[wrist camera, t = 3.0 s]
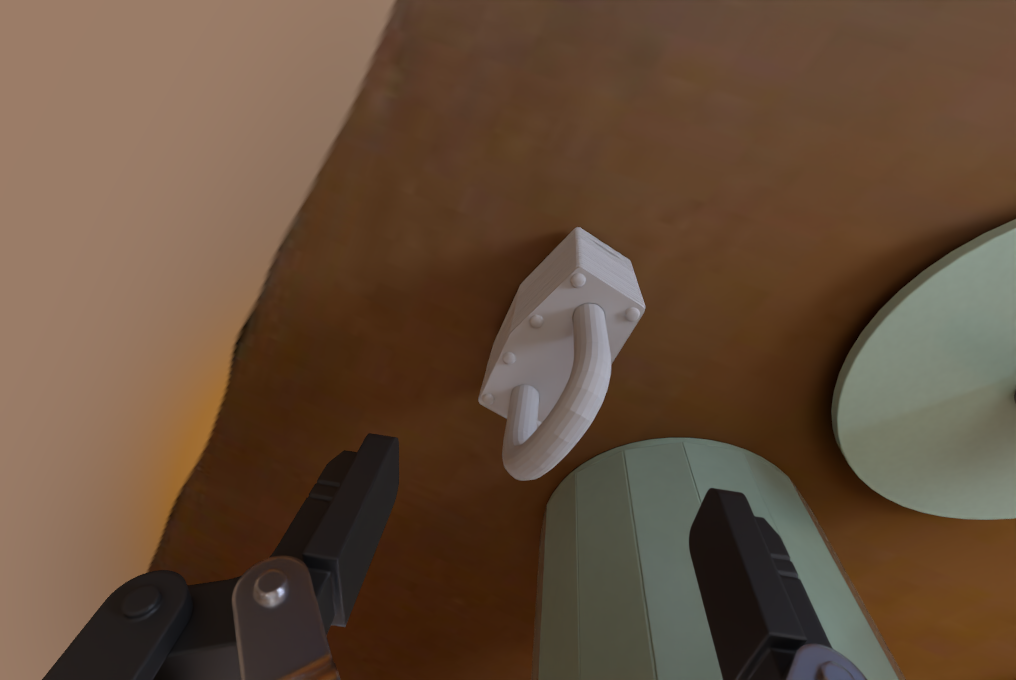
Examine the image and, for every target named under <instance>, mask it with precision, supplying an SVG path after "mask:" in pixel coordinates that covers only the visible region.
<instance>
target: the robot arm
mask: <svg viewBox="0 0 1016 680" xmlns="http://www.w3.org/2000/svg"><path fill="white" fill-rule="evenodd" d="M398 485H399V441H398V438H396V437H390V436H383V435H377V434H371V433H369V434H368V435H367V436H366V438H365V439H364V441H363V443H362V445H361V447H360V448H359V450H358V452H352V451H345V450H344V451H343V452H342V453H340V454H339V455H338V456H336V457H335V458H334V459H333V460H331V461H330V462H329V463H328V464H327V465H326V467H325V469H324V470H323V472H322V474H321V475H320V477H319V478H318V480H317V484H315V485H314V487H313V488H312V490H311V492H310V493H309V497H308V498H306V500H305V502H304V503H303V505H302V507H301V508H300V510H299V511H298V513H297V515H296V516H295V518H294V520H293V521H292V523H291V525H290V526H289V528H288V530H287V531H286V533H285V535H284V536H283V538H282V540H281V541H280V543H279V544H278V546H277V548H276V549H275V551H274V552H273V554H272V555H271V556H270V557H269V558H267V559H265V560H262V561H260V562H258V563H257V564H255V565H253V566H252V567H251V568H249V569H248V570H247V571H246V572H245V573H244V574H243V575H242V576H240V577H237V578H234V579H229V580H223V581H216V582H209V583H202V584H195V585H188V586H187V584H186V581H185V580H184V578H183V577H182V576H181V575H180V574H178V573H176V572H173V571H168V570H159V571H153V572H148V573H145V574H142V575H140V576H137V577H135V578H133V579H131V580H130V581H128V582H126V583H125V584H123V585H122V586H120V587H119V588H118V589H117V590H115V591H114V592H113V593H112V594H111V595H110V596H109V597H108V598H107V599H106V600H105V602H104V603H103V604H102V605H101V607H100V608H99V609H98V610H97V612H96V613H95V614H94V615H93V617H92V618H91V619H90V621H89V622H88V623H87V624H86V625H85V627H84V628H83V629H82V630H81V632H80V633H79V634H78V635H77V637H76V638H75V639H74V640H73V642H72V643H71V644H70V646H69V647H68V648H67V649H66V650H65V652H64V653H63V654H62V656H61V657H60V658H59V659H58V660H57V662H56V663H55V664H54V665H53V667H52V668H51V669H50V670H49V672H48V673H47V674H46V676H45V677H44V678H43V679H42V680H340V677H339V674H338V670H337V667H336V665H335V663H334V662H333V659H332V655H331V652H330V648H329V644H328V641H327V637H326V635H327V633H328V631H329V628H330V626H331V625H336V626H342V627H345V626H346V624H347V621H348V619H349V616H350V614H351V611H352V609H353V606H354V604H355V601H356V598H357V596H358V593H359V591H360V588H361V586H362V583H363V581H364V578H365V576H366V573H367V571H368V568H369V566H370V563H371V561H372V558H373V556H374V553H375V550H376V548H377V545H378V543H379V540H380V538H381V535H382V533H383V530H384V528H385V525H386V523H387V520H388V518H389V515H390V513H391V510H392V508H393V505H394V502H395V499H396V495H397V491H398ZM689 550H690V555H691V559H692V563H693V567H694V570H695V574H696V578H697V582H698V586H699V590H700V593H701V597H702V601H703V605H704V609H705V613H706V617H707V620H708V624H709V628H710V632H711V636H712V640H713V643H714V647H715V651H716V655H717V659H718V663H719V666H720V670H721V674H722V678H723V680H867V679H866V677H865V676H864V675H863V673H862V672H861V671H860V670H859V669H858V668H857V666H856V665H854V664H853V663H852V662H851V661H850V660H849V659H848V658H846V657H845V656H844V655H842V654H841V653H839V652H838V651H836V650H834V649H833V648H832V646H831V644H830V642H829V640H828V638H827V636H826V633H825V631H824V629H823V627H822V625H821V623H820V621H819V618H818V616H817V614H816V612H815V610H814V608H813V605H812V603H811V601H810V599H809V597H808V595H807V593H806V590H805V588H804V586H803V584H802V582H801V580H800V579H798V573H797V571H796V569H795V567H794V565H793V562H792V561H790V556H789V554H788V552H787V550H786V547H785V545H784V543H783V541H782V539H781V537H780V536H779V534H778V533H777V532H776V531H775V530H774V529H773V528H772V526H771V525H770V524H769V523H768V522H767V521H766V520H765V518H763V517H756V516H754V514H753V512H752V509H751V507H750V505H749V502H748V500H747V498H746V496H745V495H744V494H743V493H741V492H735V491H729V490H723V489H716V488H710V489H709V490H708V491H707V493H706V495H705V497H704V499H703V501H702V503H701V506H700V508H699V510H698V512H697V515H696V517H695V519H694V521H693V523H692V526H691V529H690V533H689Z"/></svg>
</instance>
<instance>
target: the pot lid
mask: <svg viewBox="0 0 1016 680" xmlns="http://www.w3.org/2000/svg"><path fill="white" fill-rule="evenodd" d="M831 413H832V428H833V432H834V435H835V439H836V443H837V445H838V447H839V449H840V451H841V453H842V455H843V457H844V459H845V460H846V462H847V463H848V464H849V466H850V467H851V468H852V470H853V471H854V472H855V474H856V475H857V476H858V477H859V478H860V479H861V480H862V481H863V482H864V483H865V484H866V485H867V486H869V487H870V488H871V489H872V490H874V491H875V492H877V493H878V494H880V495H881V496H883V497H885V498H886V499H888V500H890V501H893V502H895V503H897V504H899V505H901V506H904V507H907V508H910V509H913V510H916V511H919V512H922V513H927V514H932V515H936V516H941V517H949V518H958V519H977V520H994V519H1013V518H1016V219H1014V220H1012V221H1010V222H1008V223H1005V224H1003V225H1001V226H999V227H997V228H994V229H992V230H990V231H988V232H986V233H984V234H982V235H980V236H978V237H976V238H974V239H973V240H971V241H969V242H967V243H966V244H964V245H962V246H960V247H958V248H957V249H955V250H953V251H951V252H950V253H948V254H947V255H946V256H944V257H943V258H941V259H940V260H938V261H937V262H935V263H934V264H932V265H931V266H929V267H928V268H926V269H925V270H924V271H922V272H921V273H920V274H919V275H917V276H916V277H915V278H914V279H913V280H911V281H910V282H909V283H908V284H907V285H905V286H904V287H903V288H902V289H900V290H899V291H898V292H897V293H896V294H895V295H894V296H893V297H892V298H891V299H890V300H889V301H888V302H887V303H886V304H885V305H884V306H883V307H882V308H881V309H880V310H879V311H878V312H877V314H876V315H875V316H874V317H873V319H872V320H871V321H870V322H869V323H868V325H867V326H866V327H865V328H864V330H863V331H862V332H861V334H860V335H859V337H858V338H857V340H856V342H855V343H854V345H853V346H852V348H851V349H850V351H849V353H848V355H847V357H846V359H845V361H844V363H843V366H842V368H841V370H840V372H839V375H838V378H837V382H836V385H835V389H834V392H833V401H832V409H831Z"/></svg>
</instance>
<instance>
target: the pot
mask: <svg viewBox="0 0 1016 680" xmlns="http://www.w3.org/2000/svg"><path fill="white" fill-rule="evenodd" d="M710 488H716V489H723V490H729V491H735V492H741V493H743V494H744V495H745V496H746V498H747V500H748V502H749V505H750V507H751V509H752V512H753V514H754V516H756V517H763V518H765V520H766V521H767V522H768V523H769V524H770V525H771V526H772V528H773V529H774V530H775V531H776V532H777V533H778V534H779V536H780V537H781V539H782V541H783V543H784V545H785V547H786V550H787V552H788V554H789V556H790V561H792V562H793V565H794V567H795V569H796V571H797V573H798V579H800V580H801V582H802V584H803V586H804V588H805V590H806V593H807V595H808V597H809V599H810V601H811V603H812V605H813V608H814V610H815V612H816V614H817V616H818V618H819V621H820V623H821V625H822V627H823V629H824V631H825V633H826V636H827V638H828V640H829V642H830V644H831V646H832V648H833V649H834V650H836V651H838V652H839V653H841V654H842V655H844V656H845V657H846V658H848V659H849V660H850V661H851V662H852V663H853V664H854V665H856V666H857V668H858V669H859V670H860V671H861V672H862V673H863V675H864V676H865V677H866V679H867V680H906V679H905V677H904V675H903V673H902V672H901V670H900V668H899V666H898V664H897V663H896V661H895V659H894V657H893V655H892V654H891V652H890V650H889V648H888V646H887V645H886V643H885V641H884V639H883V637H882V636H881V634H880V632H879V630H878V628H877V627H876V625H875V623H874V621H873V620H872V618H871V616H870V614H869V612H868V611H867V609H866V607H865V605H864V603H863V602H862V600H861V598H860V596H859V594H858V593H857V591H856V589H855V587H854V585H853V584H852V582H851V580H850V578H849V576H848V575H847V573H846V571H845V569H844V567H843V566H842V564H841V562H840V560H839V558H838V557H837V555H836V553H835V551H834V549H833V548H832V546H831V544H830V542H829V540H828V539H827V537H826V535H825V533H824V531H823V530H822V528H821V526H820V524H819V522H818V521H817V519H816V517H815V515H814V513H813V512H812V510H811V508H810V507H809V506H808V504H807V503H806V501H805V500H804V498H803V497H802V495H801V494H800V492H799V490H798V489H797V487H796V486H795V484H794V483H793V482H792V481H791V480H790V478H789V477H788V476H787V475H786V474H785V473H783V472H782V471H781V470H780V469H779V468H778V467H776V466H775V465H774V464H772V463H770V462H769V461H767V460H766V459H764V458H763V457H761V456H759V455H757V454H754V453H752V452H750V451H748V450H746V449H743V448H740V447H737V446H734V445H731V444H728V443H723V442H718V441H713V440H708V439H698V438H659V439H650V440H644V441H639V442H634V443H630V444H627V445H623V446H620V447H617V448H614V449H611V450H609V451H606V452H604V453H602V454H599V455H597V456H595V457H594V458H592V459H590V460H588V461H586V462H585V463H583V464H582V465H580V466H579V467H578V468H576V469H575V470H574V471H572V472H571V473H570V474H569V475H568V476H567V477H566V478H565V479H564V480H563V481H562V482H561V483H560V484H559V486H558V487H557V488H556V489H555V491H554V492H553V494H552V496H551V498H550V499H549V501H548V503H547V506H546V509H545V512H544V517H543V525H542V530H541V535H540V544H539V561H538V577H537V594H536V610H535V627H534V643H533V660H532V676H531V680H723V678H722V674H721V670H720V666H719V663H718V659H717V655H716V651H715V647H714V643H713V640H712V636H711V632H710V628H709V624H708V620H707V617H706V613H705V609H704V605H703V601H702V597H701V593H700V590H699V586H698V582H697V578H696V574H695V570H694V567H693V563H692V559H691V555H690V550H689V533H690V529H691V526H692V523H693V521H694V519H695V517H696V515H697V512H698V510H699V508H700V506H701V503H702V501H703V499H704V497H705V495H706V493H707V491H708V490H709V489H710Z"/></svg>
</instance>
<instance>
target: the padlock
mask: <svg viewBox="0 0 1016 680" xmlns="http://www.w3.org/2000/svg"><path fill="white" fill-rule="evenodd" d="M644 310H645V303H644V300H643V298H642V295H641V291H640V288H639V286H638V282H637V280H636V276H635V274H634V270H633V267H632V265H631V262H630V260H629V259H627V258H626V257H624V256H623V255H621V254H620V253H618V252H617V251H615V250H613V249H612V248H610V247H609V246H607V245H606V244H604V243H603V242H601V241H600V240H598V239H597V238H595V237H594V236H592V235H591V234H589V233H588V232H586V231H584V230H583V229H581V228H580V227H576V228H574V230H573V231H572V232H571V233H570V234H569V235H568V236H567V237H566V238H565V239H564V240H563V241H562V242H561V243H560V244H559V245H558V246H557V247H556V248H555V249H554V250H553V251H552V252H551V253H550V254H549V255H548V256H547V257H546V258H545V259H544V260H543V262H542V263H541V264H540V265H539V266H538V267H537V268H536V269H535V270H534V271H533V272H532V273H531V274H530V275H529V276H528V277H527V278H526V279H525V280H524V281H523V282H522V283H521V284H520V286H519V289H518V291H517V293H516V295H515V297H514V300H513V302H512V304H511V306H510V308H509V311H508V313H507V315H506V317H505V319H504V322H503V324H502V326H501V328H500V330H499V332H498V335H497V337H496V339H495V341H494V343H493V347H492V350H491V354H490V357H489V361H488V365H487V369H486V372H485V376H484V380H483V383H482V387H481V391H480V394H479V398H478V401H479V403H480V404H481V405H483V406H485V407H486V408H488V409H490V410H492V411H494V412H496V413H497V414H499V415H501V416H503V417H505V418H506V419H507V423H506V428H505V434H504V441H503V451H502V457H503V463H504V467H505V468H506V470H507V471H508V472H509V474H510V475H511V476H513V477H514V478H515V479H517V480H520V481H525V480H533V479H537V478H539V477H541V476H542V475H544V474H545V473H547V472H548V471H549V470H551V469H552V468H554V467H555V466H556V465H557V464H558V463H559V462H560V461H561V460H562V459H563V458H564V457H565V456H566V455H567V454H568V453H569V452H570V450H571V449H572V448H573V447H574V446H575V445H576V444H577V442H578V441H579V440H580V439H581V437H582V436H583V434H584V433H585V432H586V430H587V429H588V428H589V426H590V425H591V423H592V422H593V420H594V418H595V416H596V414H597V413H598V411H599V409H600V407H601V405H602V403H603V400H604V397H605V395H606V392H607V389H608V385H609V380H610V375H611V364H612V362H613V361H614V359H615V358H616V356H617V354H618V353H619V351H620V350H621V348H622V347H623V345H624V343H625V342H626V340H627V339H628V337H629V335H630V334H631V332H632V331H633V329H634V327H635V326H636V324H637V323H638V321H639V319H640V318H641V316H642V315H643V313H644Z"/></svg>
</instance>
